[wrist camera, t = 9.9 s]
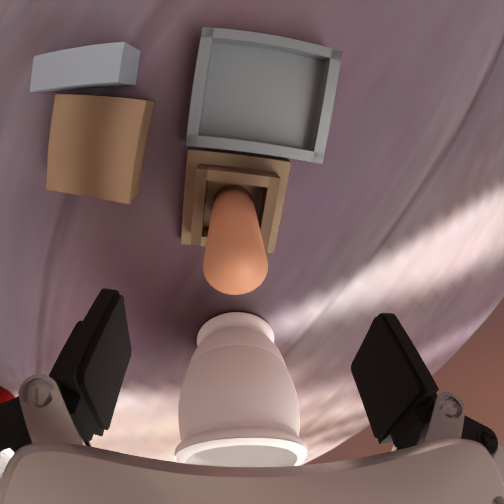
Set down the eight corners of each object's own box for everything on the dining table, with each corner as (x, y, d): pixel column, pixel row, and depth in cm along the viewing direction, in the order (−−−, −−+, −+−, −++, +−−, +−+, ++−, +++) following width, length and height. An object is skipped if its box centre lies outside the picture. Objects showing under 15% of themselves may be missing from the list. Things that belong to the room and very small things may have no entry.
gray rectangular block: (55, 91, 18) (29, 92, 15) (59, 59, 17) (34, 56, 13) (135, 85, 19) (118, 82, 16) (140, 51, 18) (124, 41, 14)
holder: (182, 239, 26) (177, 255, 23) (189, 148, 22) (183, 153, 19) (272, 248, 27) (277, 264, 24) (288, 160, 23) (296, 167, 20)
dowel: (211, 220, 24) (200, 291, 15) (215, 182, 22) (205, 235, 14) (250, 224, 24) (262, 297, 15) (256, 187, 23) (273, 242, 14)
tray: (190, 142, 22) (185, 145, 20) (205, 35, 18) (202, 27, 16) (313, 158, 23) (322, 164, 21) (331, 56, 19) (342, 51, 17)
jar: (236, 283, 28) (244, 424, 15) (301, 336, 32) (333, 456, 19) (168, 339, 31) (148, 461, 18) (234, 380, 35) (239, 488, 22)
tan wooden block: (62, 180, 22) (46, 189, 20) (72, 94, 19) (55, 94, 16) (139, 193, 24) (129, 204, 21) (156, 101, 20) (146, 100, 18)
